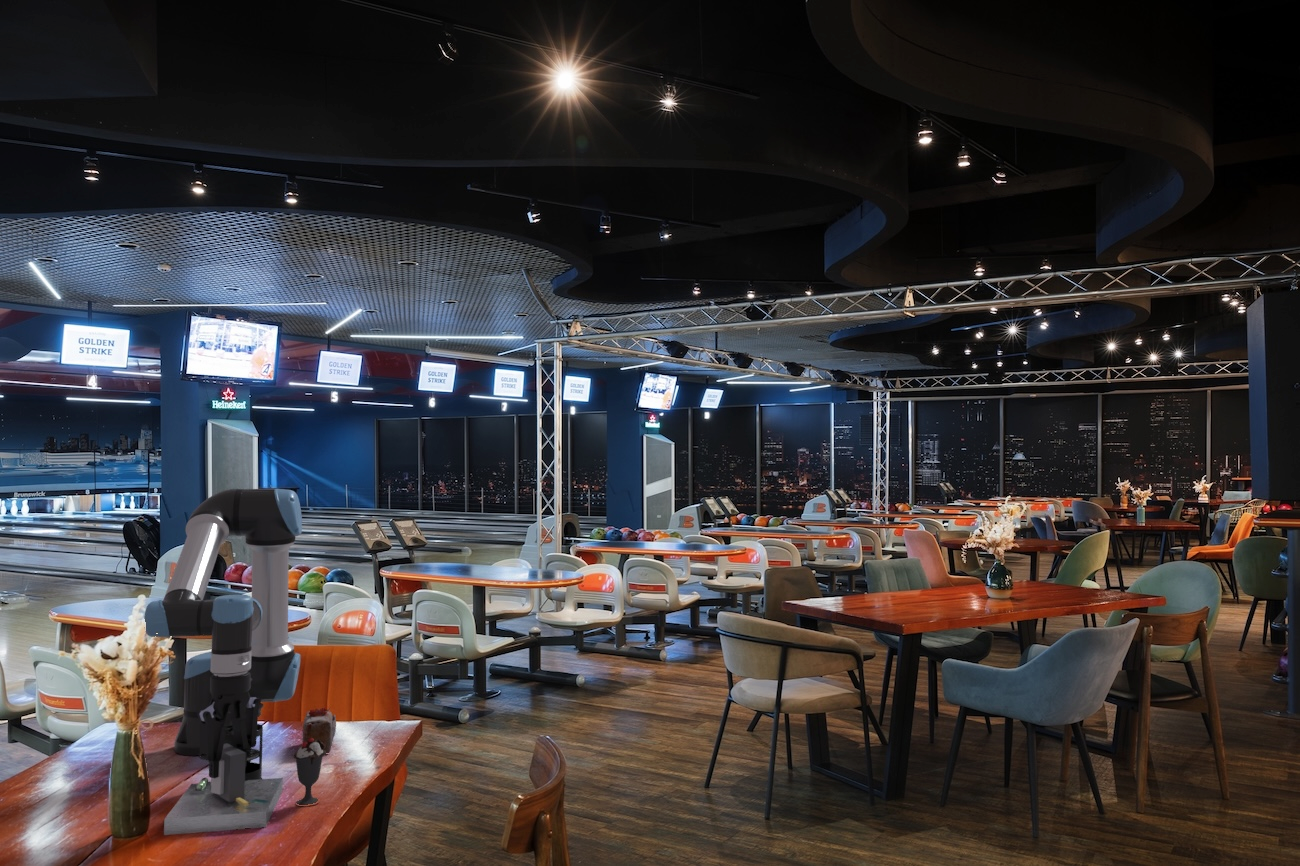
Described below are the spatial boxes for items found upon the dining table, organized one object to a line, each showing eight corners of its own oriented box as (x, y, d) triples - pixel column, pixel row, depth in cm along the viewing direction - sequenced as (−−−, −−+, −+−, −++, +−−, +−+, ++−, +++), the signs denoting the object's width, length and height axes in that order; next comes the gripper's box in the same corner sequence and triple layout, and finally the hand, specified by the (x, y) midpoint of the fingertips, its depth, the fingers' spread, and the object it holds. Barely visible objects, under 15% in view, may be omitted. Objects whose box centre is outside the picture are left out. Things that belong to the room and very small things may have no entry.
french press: (255, 791, 196) (258, 683, 197) (209, 793, 195) (212, 684, 196) (268, 773, 208) (271, 671, 209) (224, 775, 206) (227, 672, 207)
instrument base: (191, 798, 192) (191, 775, 192) (282, 792, 196) (282, 769, 196) (163, 835, 172) (164, 809, 172) (265, 827, 176) (266, 802, 177)
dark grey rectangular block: (210, 791, 186) (212, 746, 187) (225, 787, 188) (227, 743, 189) (238, 808, 177) (240, 760, 177) (254, 804, 179) (255, 757, 180)
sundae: (292, 810, 185) (294, 735, 186) (289, 800, 191) (291, 727, 192) (327, 805, 188) (328, 731, 189) (322, 795, 194) (324, 723, 195)
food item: (302, 742, 233) (303, 702, 233) (335, 739, 235) (336, 700, 236) (301, 757, 220) (302, 716, 220) (335, 754, 222) (337, 713, 223)
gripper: (206, 683, 176) (202, 806, 175) (278, 666, 191) (275, 779, 190) (180, 678, 179) (176, 799, 178) (253, 662, 195) (250, 774, 194)
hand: (227, 789), depth 184 cm, fingers closed on dark grey rectangular block, 4 cm apart
